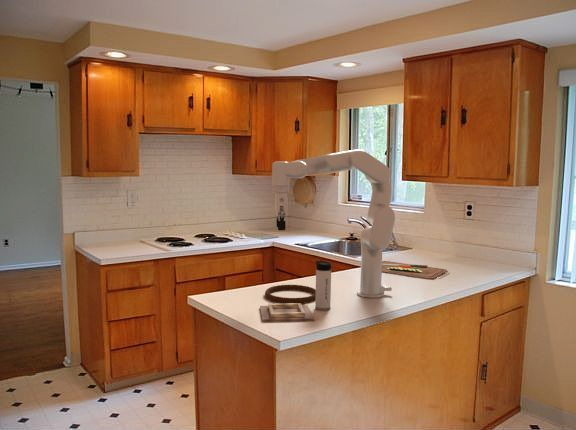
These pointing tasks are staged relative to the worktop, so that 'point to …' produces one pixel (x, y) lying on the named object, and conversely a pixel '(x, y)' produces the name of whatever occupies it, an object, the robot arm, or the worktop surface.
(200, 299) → the worktop surface
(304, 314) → the walnut coaster board
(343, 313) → the worktop surface
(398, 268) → the chopping board
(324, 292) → the travel mug
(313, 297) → the decorative ring
